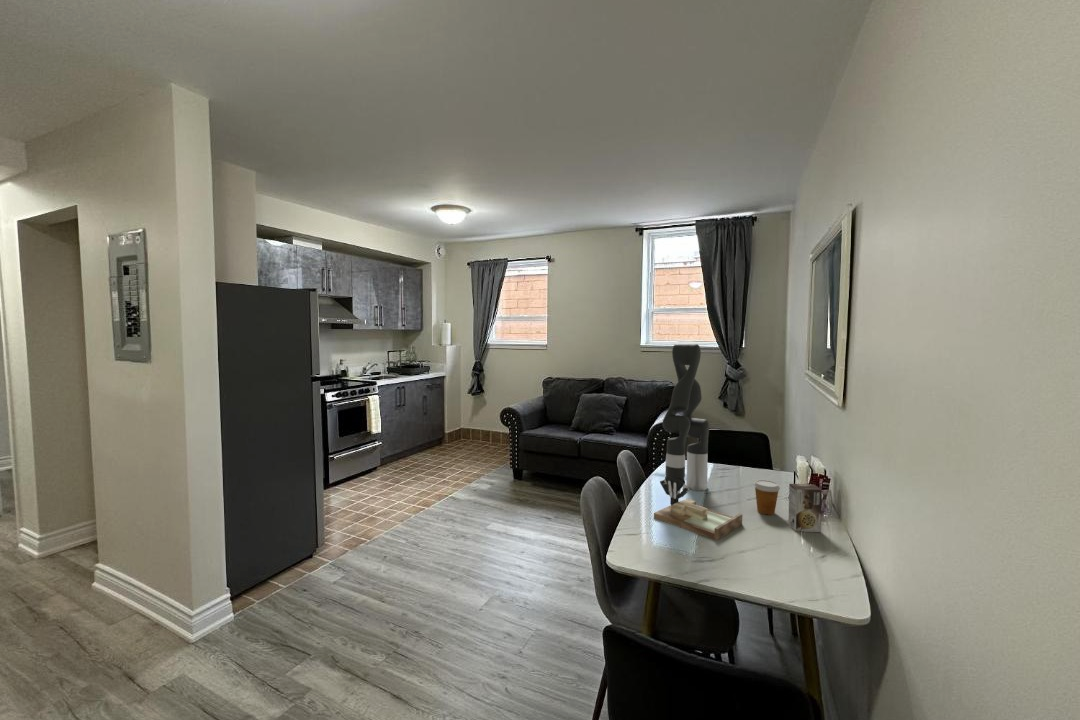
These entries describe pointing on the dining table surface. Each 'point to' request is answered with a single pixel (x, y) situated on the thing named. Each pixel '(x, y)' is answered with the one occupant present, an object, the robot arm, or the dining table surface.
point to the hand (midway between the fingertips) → (674, 506)
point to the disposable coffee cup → (766, 496)
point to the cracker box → (805, 507)
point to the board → (702, 522)
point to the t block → (689, 509)
